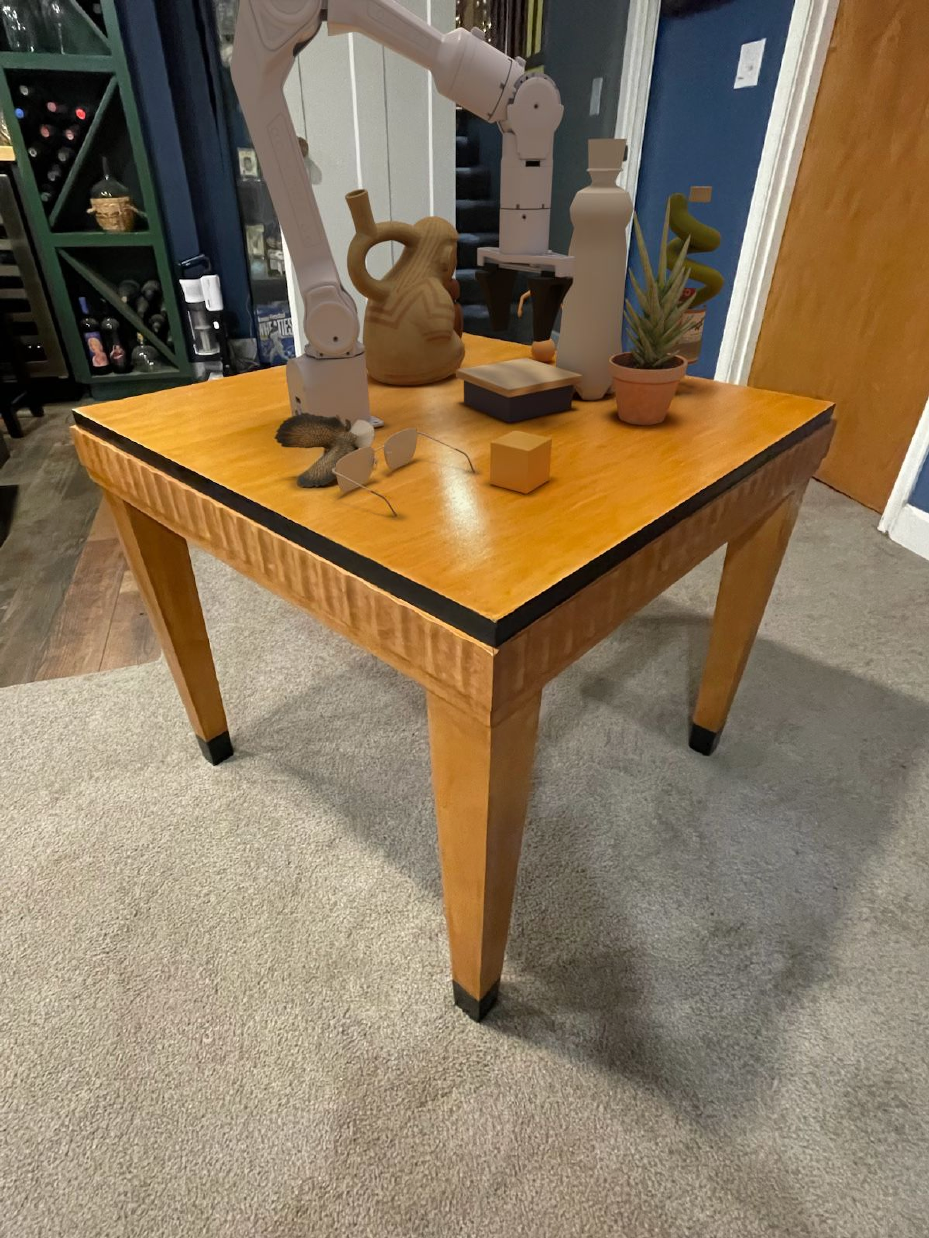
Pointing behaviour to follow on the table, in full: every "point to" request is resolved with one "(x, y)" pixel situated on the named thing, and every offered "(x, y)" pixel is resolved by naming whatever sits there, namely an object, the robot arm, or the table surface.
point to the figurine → (540, 349)
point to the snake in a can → (692, 267)
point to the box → (518, 388)
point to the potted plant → (652, 340)
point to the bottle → (596, 273)
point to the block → (520, 461)
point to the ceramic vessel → (406, 297)
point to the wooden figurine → (456, 305)
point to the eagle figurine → (323, 442)
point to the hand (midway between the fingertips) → (520, 335)
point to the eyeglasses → (361, 461)
